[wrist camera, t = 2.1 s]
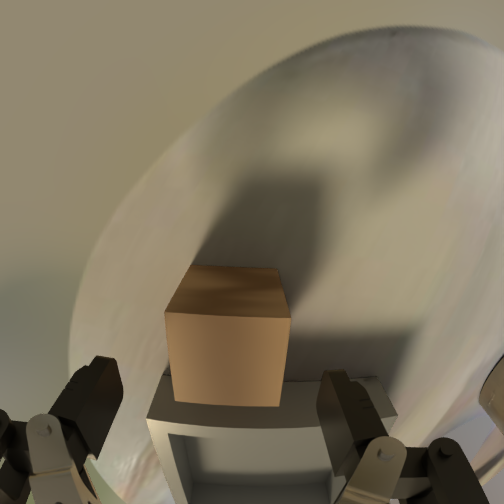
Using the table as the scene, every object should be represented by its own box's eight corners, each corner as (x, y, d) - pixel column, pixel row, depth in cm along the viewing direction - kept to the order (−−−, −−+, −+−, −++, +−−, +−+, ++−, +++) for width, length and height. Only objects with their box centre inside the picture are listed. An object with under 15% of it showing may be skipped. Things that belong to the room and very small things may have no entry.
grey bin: (376, 376, 19) (398, 415, 15) (331, 478, 24) (338, 509, 19) (162, 375, 19) (146, 418, 15) (184, 478, 23) (179, 511, 19)
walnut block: (276, 268, 17) (291, 318, 11) (270, 341, 18) (278, 406, 13) (190, 264, 17) (164, 311, 11) (193, 337, 18) (175, 401, 12)
